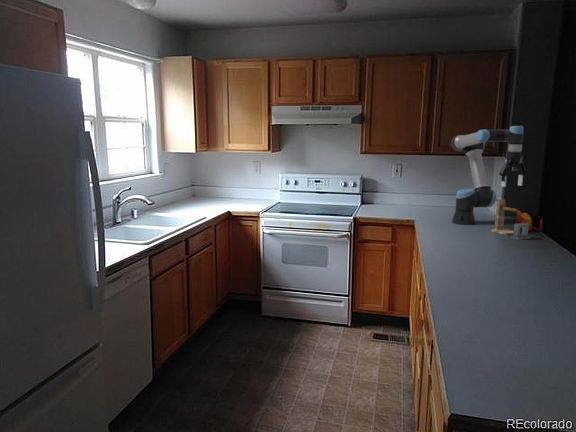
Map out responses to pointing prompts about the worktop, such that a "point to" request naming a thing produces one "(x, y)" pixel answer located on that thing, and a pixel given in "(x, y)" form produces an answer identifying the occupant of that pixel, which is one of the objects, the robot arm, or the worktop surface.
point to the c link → (517, 230)
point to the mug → (528, 219)
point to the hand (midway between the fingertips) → (511, 186)
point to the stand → (502, 218)
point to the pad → (521, 238)
